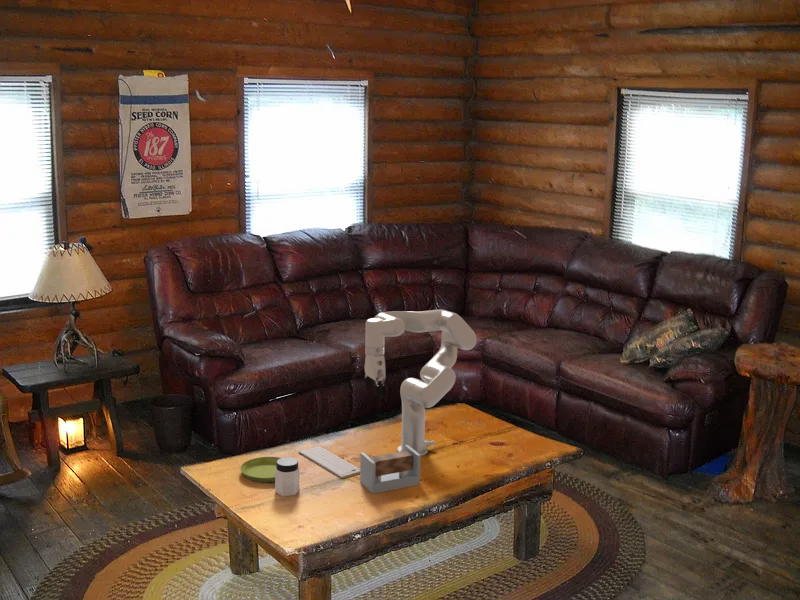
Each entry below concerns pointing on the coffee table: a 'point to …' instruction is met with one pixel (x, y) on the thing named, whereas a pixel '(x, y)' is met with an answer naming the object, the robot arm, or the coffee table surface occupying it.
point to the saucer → (260, 469)
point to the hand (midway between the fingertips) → (374, 391)
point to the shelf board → (392, 463)
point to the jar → (287, 476)
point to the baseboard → (330, 462)
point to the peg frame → (389, 480)
